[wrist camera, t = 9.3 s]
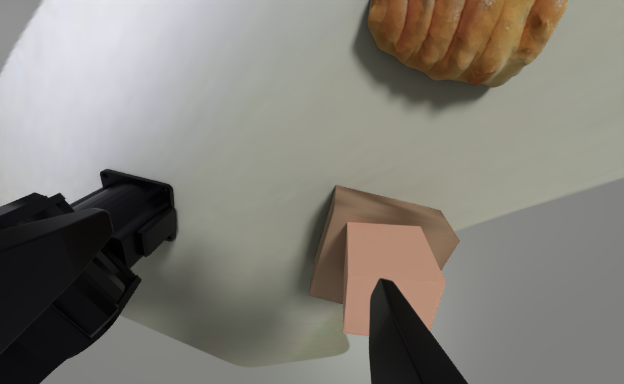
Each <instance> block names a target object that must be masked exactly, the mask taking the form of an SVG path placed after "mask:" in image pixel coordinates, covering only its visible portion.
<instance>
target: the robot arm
mask: <svg viewBox="0 0 624 384" xmlns="http://www.w3.org/2000/svg"><path fill="white" fill-rule="evenodd" d="M100 176H101V181H102V185H103V187H102V188H100V189H99V190H97V191H95V192H93V193H91V194H89V195H87V196H85V197H83V198H81V199H79V200H77V201H76V202H74V203H72V204H70V205H69V204H68V203H67V202H66V201H65V197H64V196H63V195H62V194H61V193H58V194H56V195H54V196H52V197H50V198H48V197H47V196H43V195H40V194H38V193H32V194H30V195H28V196H25V197H23V198H20V199H18V200H16V201H13V202H11V203H8V204H6V205H3V206H1V207H0V384H40V383H41V382H42V381H43V380H44V379H45V378H46V377H47V376H48V375H49V374H50V373H51V372H52V371H53V370H55V369H56V368H57V367H58V366H59V365H60V364H62V363H63V362H64V361H65V360H66V359H69V358H71V357H73V356H75V355H77V354H79V353H80V352H82V351H84V350H85V349H86V348H88V347H89V346H90V345H92V344H93V343H94V342H95V341H96V340H98V339H99V338H100V337H101V336H102V335H103V334H104V333H105V332H106V331H107V330H108V329H109V328H110V327H111V326H112V325H113V323H114V322H115V321H116V319H117V318H118V316H119V315H120V313H121V312H122V310H123V308H124V307H125V305H126V304H127V302H128V301H129V299H130V298H131V296H132V294H133V293H134V291H135V290H136V288H137V287H138V285H139V284H140V282H141V278H140V277H139V276H138V275H135V274H134V273H133V272H132V271H131V270H130V268H131V267H132V266H133V265H134V264H135V263H136V262H137V261H138V260H139V259H140V258H141V257H143V256H144V257H147V256H149V255H150V254H151V253H152V252H153V251H154V250H155V249H156V248H157V247H158V246H159V245H160V244H161V243H162V242H163V241H164V240H166V241H173V240H174V239H175V238H176V231H175V229H176V220H175V208H174V201H173V189H172V187H171V186H170V185H169V184H166V183H162V182H158V181H154V180H150V179H146V178H142V177H138V176H134V175H129V174H125V173H121V172H117V171H113V170H109V169H106V170H103V171H101V172H100ZM165 188H166V189H167V190H166V189H165ZM369 359H370V371H371V384H468V383H467V382H466V380H465V379H464V378H463V376H462V375H461V373H460V372H459V371H458V370H457V368H456V366H455V365H454V364H453V362H452V361H451V360H450V359H449V357H448V356H447V354H446V353H445V351H444V350H443V349H442V347H441V346H440V345H439V343H438V342H437V340H436V339H435V338H434V336H433V335H432V334H431V332H430V331H429V329H428V328H427V327H426V325H425V324H424V323H423V321H422V320H421V319H420V317H419V316H418V314H417V313H416V312H415V310H414V309H413V308H412V306H411V305H410V303H409V302H408V301H407V299H406V298H405V297H404V295H403V294H402V292H401V291H400V290H399V288H398V287H397V286H396V284H395V283H394V282H393V281H392V280H388V279H384V278H380V279H379V280H378V282H377V284H376V286H375V288H374V290H373V292H372V294H371V298H370V321H369Z"/></svg>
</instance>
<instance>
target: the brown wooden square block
mask: <svg viewBox="0 0 624 384" xmlns="http://www.w3.org/2000/svg"><path fill="white" fill-rule="evenodd" d="M347 222H356V223H372V224H389V225H405V226H420V227H421V229H422V231H423V233H424V235H425V238H426V240H427V242H428V244H429V246H430V248H431V251H432V253H433V255H434V257H435V259H436V262H437V264H438V266H439V268H440V270H442V268H443V267H444V265H445V263H446V262H447V260H448V259H449V257H450V255H451V254H452V252H453V251H454V249H455V248H456V246H457V244H458V243H459V241H460V240H459V239H458V237H457V236H456V234H455V232H454V231H453V229H452V228H451V226H450V225H449V223H448V221H447V220H446V218H445V217H444V215H443V214H442V212H441V211H440V210H436V209H432V208H428V207H424V206H419V205H415V204H411V203H407V202H403V201H399V200H395V199H391V198H387V197H382V196H378V195H374V194H370V193H366V192H362V191H358V190H354V189H350V188H345V187H341V186H337V185H336V187H335V191H334V194H333V198H332V201H331V204H330V208H329V211H328V215H327V218H326V222H325V225H324V229H323V232H322V236H321V239H320V242H319V246H318V249H317V253H316V256H315V260H314V263H313V270H312V276H311V283H310V289H309V296H313V297H317V298H321V299H325V300H329V301H333V302H337V303H341V304H343V298H344V262H345V248H346V234H347Z"/></svg>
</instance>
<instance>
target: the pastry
mask: <svg viewBox="0 0 624 384" xmlns="http://www.w3.org/2000/svg"><path fill="white" fill-rule="evenodd" d="M566 7H567V0H371V2H370V7H369V15H368V27H369V30H370V32H371V34H372V36H373V38H374V40H375V43H376V45H377V47H378V48H379V49H380V50H382V51H384V52H386V53H388V54H390V55H392V56H394V57H396V58H397V59H398V60H399V61H400V62H401V63H402V64H403V65H406V66H408V67H410V68H413V69H417V70H419V71H421V72H424V73H425V74H426V75H428V76H429V77H430V78H431V79H433V80H436V81H440V80H447V79H449V80H454V81H462V82H468V83H470V84H473V85H480V84H484V85H486V86H488V87H498V86H501V85H503V84H504V83H506V82H507V81H508V80H509V79H510V78H511V77H513V76H516V75H517V74H519V72H520V71H521V70H522V69H523V68H524V66H526V65H528V64H529V63H531V62H532V61H533V60H534V59H535V58H536V57H537V56H538V55H539V54H540V53H541V51H542V50H543V48H544V47H545V45H546V43H547V42H548V40H549V39H550V37H551V36H552V34H553V32H554V30H555V29H556V27H557V25H558V23H559V21H560V19H561V17H562V15H563V14H564V12H565V10H566Z"/></svg>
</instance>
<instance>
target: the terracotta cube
mask: <svg viewBox="0 0 624 384" xmlns="http://www.w3.org/2000/svg"><path fill="white" fill-rule="evenodd" d="M380 278H384V279H388V280H392V281H393V282H394V283H395V284H396V286H397V287H398V288H399V290H400V291H401V292H402V294H403V295H404V297H405V298H406V299H407V301H408V302H409V303H410V305H411V306H412V308H413V309H414V310H415V312H416V313H417V314H418V316H419V317H420V319H421V320H422V321H423V323H424V324H425V325H426V327H427V328H428V329H429V331H430V329H431V326H432V324H433V320H434V317H435V315H436V311H437V309H438V306H439V303H440V300H441V297H442V294H443V291H444V288H445V284H446V282H445V279H444V277H443V275H442V273H441V270H440V268H439V266H438V264H437V262H436V259H435V257H434V255H433V253H432V251H431V248H430V246H429V244H428V242H427V240H426V238H425V235H424V233H423V231H422V229H421V227H420V226H405V225H389V224H372V223H356V222H347V234H346V248H345V262H344V298H343V333H345V334H355V335H364V336H369V321H370V298H371V294H372V292H373V290H374V288H375V286H376V284H377V282H378V280H379V279H380Z"/></svg>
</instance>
